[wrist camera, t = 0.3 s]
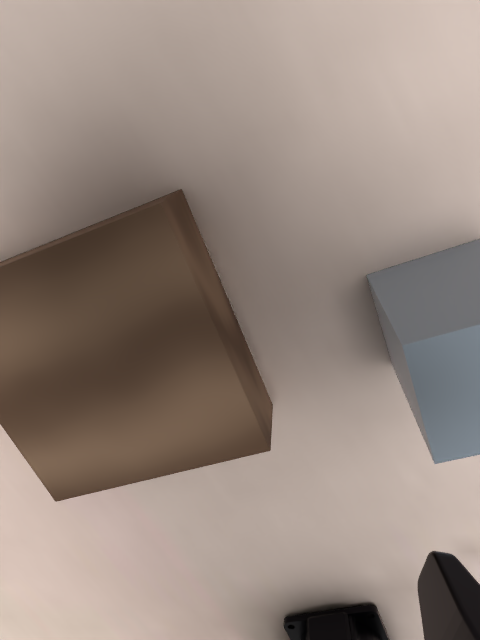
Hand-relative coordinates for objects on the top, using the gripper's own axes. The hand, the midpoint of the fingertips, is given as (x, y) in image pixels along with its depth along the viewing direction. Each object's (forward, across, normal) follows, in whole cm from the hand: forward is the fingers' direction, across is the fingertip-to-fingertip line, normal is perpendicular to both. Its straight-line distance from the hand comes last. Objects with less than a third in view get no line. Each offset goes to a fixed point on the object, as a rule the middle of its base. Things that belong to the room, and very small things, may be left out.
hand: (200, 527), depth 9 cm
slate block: (+14, -8, -1) cm, 16 cm away
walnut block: (+14, +6, +4) cm, 16 cm away
